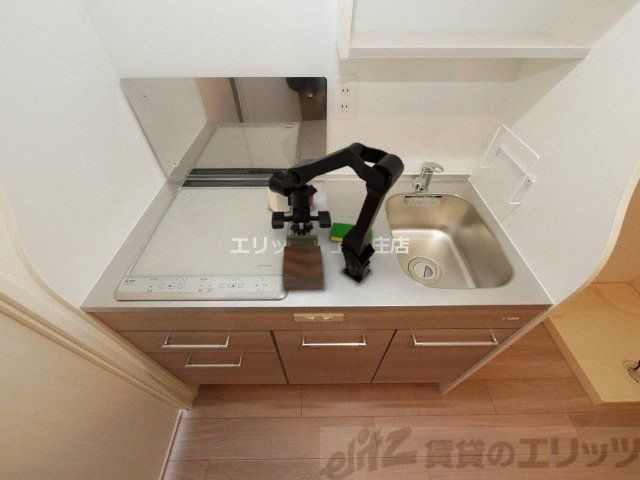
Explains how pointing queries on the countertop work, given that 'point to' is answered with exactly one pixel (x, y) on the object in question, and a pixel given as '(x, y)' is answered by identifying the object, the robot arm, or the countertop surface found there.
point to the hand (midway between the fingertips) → (301, 238)
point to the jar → (278, 201)
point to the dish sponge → (342, 231)
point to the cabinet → (302, 268)
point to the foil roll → (311, 198)
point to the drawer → (301, 240)
